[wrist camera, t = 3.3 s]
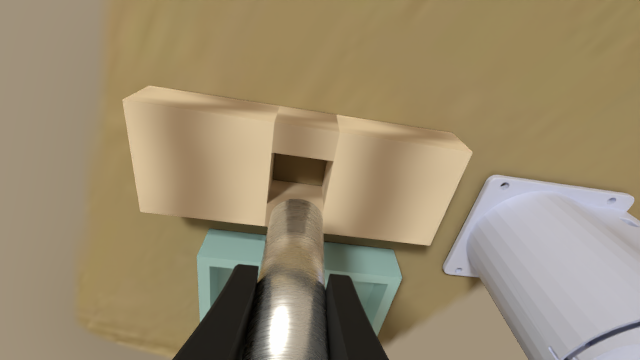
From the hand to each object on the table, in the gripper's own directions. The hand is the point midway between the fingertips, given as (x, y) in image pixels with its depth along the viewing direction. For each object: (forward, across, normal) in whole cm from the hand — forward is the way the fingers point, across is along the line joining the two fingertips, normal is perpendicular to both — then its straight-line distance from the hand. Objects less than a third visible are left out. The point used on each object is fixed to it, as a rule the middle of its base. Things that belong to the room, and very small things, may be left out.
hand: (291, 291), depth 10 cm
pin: (+4, 0, 0) cm, 4 cm away
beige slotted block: (+9, 0, 0) cm, 9 cm away
